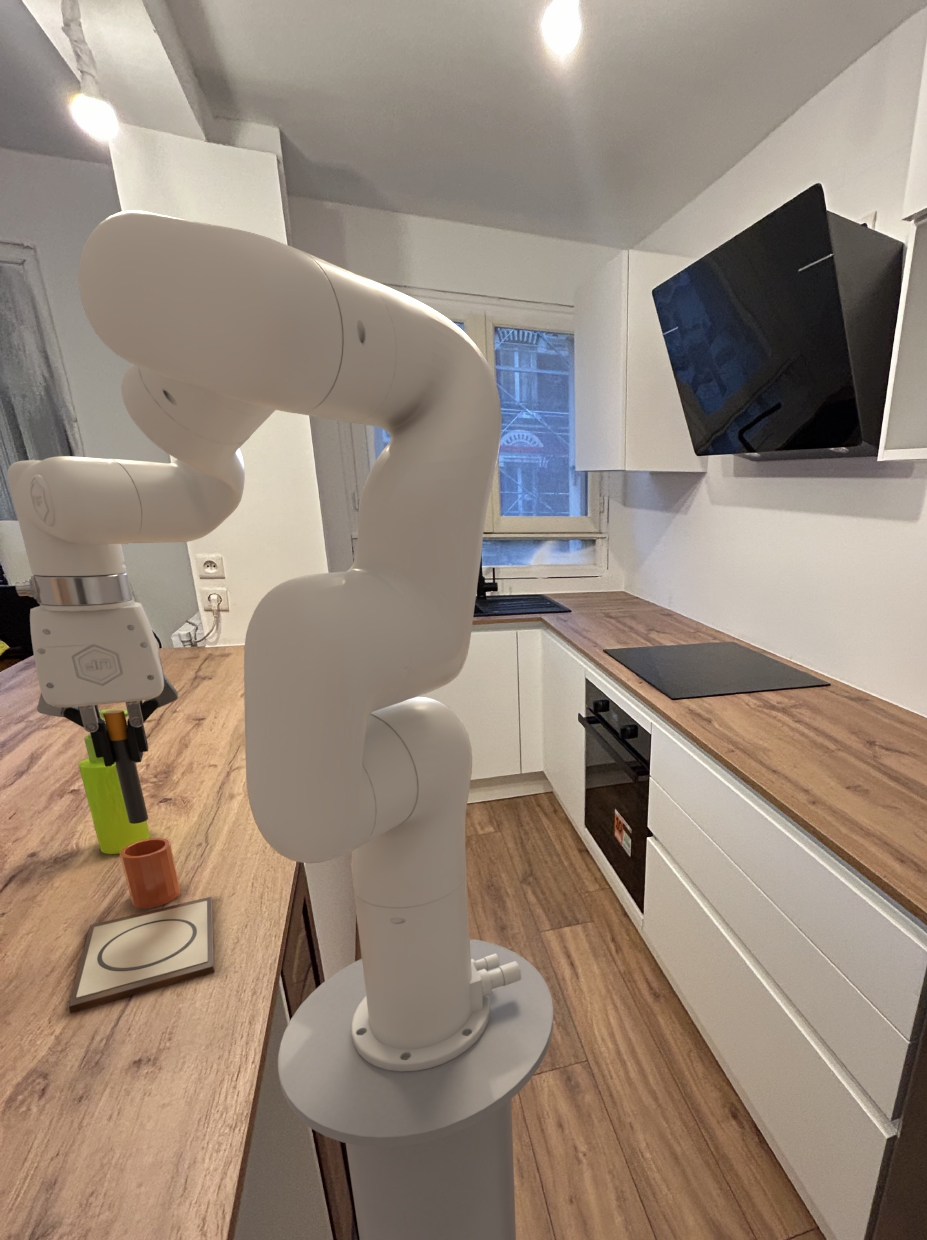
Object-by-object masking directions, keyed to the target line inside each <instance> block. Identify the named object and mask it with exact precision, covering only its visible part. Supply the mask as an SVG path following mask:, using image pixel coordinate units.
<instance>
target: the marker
mask: <svg viewBox="0 0 927 1240" xmlns="http://www.w3.org/2000/svg"><path fill="white" fill-rule="evenodd" d="M123 710H124V709H123ZM123 710H111V711H107V712H104V713H103V715H104V718H103V719H104V721H105V724H106V727H107V731H108V735H109V739H110V743H111V747H112V752H113V756H114V760H115V765H116V769H117V773H118V778H119V782H120V786H121V790H122V794H123V799H124V803H125V807H126V811H127V815H128V819H129V823H132V824H136V823H141V822H144V821H146V820H147V821H148V820H149V815H148V810H147V806H146V801H145V797H144V793H143V789H142V784H141V779H140V775H139V771H138V766H137V763H135V762H133V761H132V756H131V752H130V748H129V743H128V739H127V735H126V727H127V725H128V724H127V717H125V713H124V711H123Z"/></svg>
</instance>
